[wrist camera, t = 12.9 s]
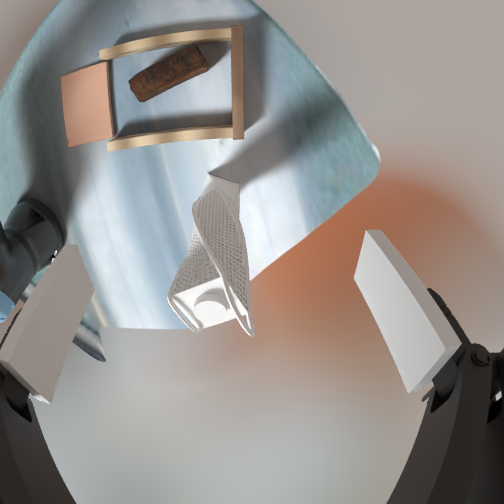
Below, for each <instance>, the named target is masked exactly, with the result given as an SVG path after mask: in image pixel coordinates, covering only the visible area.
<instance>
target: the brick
mask: <svg viewBox="0 0 504 504" xmlns="http://www.w3.org/2000/svg"><path fill="white" fill-rule="evenodd" d="M208 70H209V69H208V65H207V63H206V61H205V59H204V57H203V55H202V53H201V51H200V49H199V47H198V45H193V46H190V47H188V48H186V49H184V50H182V51H180V52H177V53H175V54H173V55H171V56H169V57H167V58H165V59H163V60H161V61H159V62H157V63H155V64H153V65H152V66H150V67H148V68H146V69H144V70H143V71H141V72H139V73H137V74H136V75H135V76H134V77H133V78H132V79H130V80H129V85H130V89H131V91H132V92H133V93H134V94H135V96H136V98H137V99H138V100H139V102H145V101H147V100H149V99H151V98H153V97H155V96H157V95H159V94H161V93H163V92H164V91H166V90H168V89H170V88H172V87H174V86H176V85H178V84H180V83H182V82H185V81H187V80H189V79H191V78H193V77H195V76H198V75H200V74H202V73H204V72H207V71H208Z"/></svg>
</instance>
